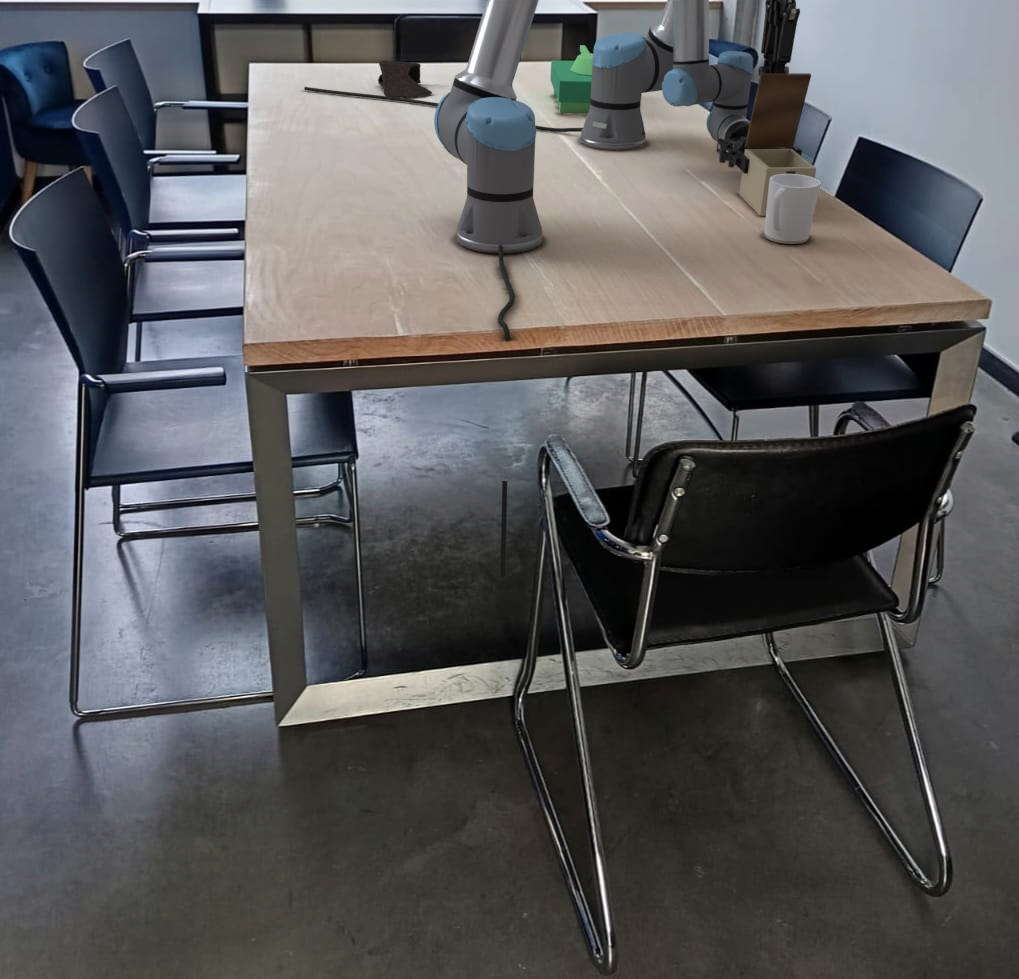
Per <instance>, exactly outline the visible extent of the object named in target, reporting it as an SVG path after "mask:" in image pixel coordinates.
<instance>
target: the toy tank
mask: <svg viewBox="0 0 1019 979" xmlns="http://www.w3.org/2000/svg"><path fill="white" fill-rule="evenodd" d="M579 52H580V54H578V55H577V56H576V59H575V60H555V59H554V60H551V61H550V83H551V86H552V88H553V96H554V97H556V100H557V102H558V113H559V114H575V115H576V114H577V115H578V114H579V115H580V114H581V115H583V114H585V115H586V114H587V115H588V112H589V109H590V100H591V83H592V57H593V53H591V52H590V51H589V50H588V47H587V46H586V45H583V44H582V45H581V44H580V45H579Z"/></svg>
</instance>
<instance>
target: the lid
mask: <svg viewBox="0 0 1019 979" xmlns="http://www.w3.org/2000/svg"><path fill="white" fill-rule="evenodd" d="M769 72H770V66H764V65H763V66H761V65H760V66H759V67H758V76H759V79H758V84H757V89H756V93H755V97H754V102H753V107H752V111H751V117H750V120H749V121H750V125H749V129H748V134H747V138H746V143H745V147H746V148H785V147H793V146H794V144H795V141H796V137H797V132H798V129H799V125H800V122H801V118H802V114H803V109H804V105H805V101H806V98H807V94H808V90H809V86H810V83H811V82H810V81H811V78H812V74H811V73H807V72H803V73H802V72H800V73H799V72H795V73H794V72H793V73H791V72H790V67H789V66H788V65H785V70H784V73H769Z"/></svg>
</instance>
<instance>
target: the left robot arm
mask: <svg viewBox="0 0 1019 979" xmlns="http://www.w3.org/2000/svg"><path fill="white" fill-rule="evenodd" d="M539 1H540V0H486V2H485V5H484V9H483V12H482V15H481V18H480V22H479V25H478V28H477V29H478V30H477V31H476V35H475V38H474V42H473V45H472V49H471V52H470V55H469V59H468V61H467V66H466V68H465V69H464V70H462V71H460V72H459V73H457V74H455V75H454V79H453V81H452V86H451V89H450V92H448V93H447V94H445V95H444V96H443V97H442V98H441V99H440V101H439V102H438V103H439V104H438V106H437V107H436V109H435V113H434V119H433V124H434V130H435V134H436V136H437V139H438V140H439V143H440V144H441V145H442V147H443V148H444V149H445V150H446V152H448V154H450V155H451V156H453V157H454V158H455V159H458V160H460V162H462V163H463V164H465V165H466V192H467V193H466V198H465V202H464V205H463V209H462V211H461V214H460V218H459V220H458V224H457V227H456V241H457V243H458V244H459V245H461V246H462V247H464V248H466V249H468V250H470V251H475V252H479V253H486V254H497V255H498V263H499V269H500V271H501V275H502V277H503V278H502V279H503V282H504V284H505V286H506V288H507V290H508V293H509V299H508V301H507V303H506V304H505V306H504V307H503V308H502V309H501V310H500V311H499V313H498V316H497V322H498V325H500V327H501V328H502V330H503V335H504V341H505V342H510V341H511V334H510V329H509V326H508V324H507V322H505V321H504V317H505V315H506V313H507V312H508V311H509V310H510V309H511V308H512V306H513V305H514V302H515V298H516V296H515V290H514V288H513V285H512V284H511V282H510V278H509V276H508V273H507V270H506V266H505V262H504V255H506V254H507V255H508V254H517V253H524V252H527V251H530V250H533V249H536V248H538V247H539V246H540V245H541V244H542V243H543V229H542V224H541V221H540V220H541V219H540V218H539V214H538V213H539V212H538V210H537V206H536V204H535V199H534V184H535V181H534V180H535V158H536V138H537V129H536V126H537V125H536V116H535V113H534V110H532V108H531V107H530V106H529V105H527V104H526V103H525V102H522V101H520V100H517V98H518V96H517V94H516V92H515V90H514V87H513V82H514V79H515V77H516V74H517V70H518V67H519V64H520V61H521V57H522V54H523V51H524V48H525V44H526V42H527V39H528V36H529V32H530V29H531V26H532V23H533V19H534V17H535V14H536V10H537V7H538V4H539ZM764 6H765V7H764V8H765V14H764V22H763V30H762V31H763V32H762V39H761V40H762V41H761V49H760V53H761V54H763V66H770V72H769V73H784V70H785V66H787V64H789V63H791V60H792V56H793V49H794V43H795V37H796V31H797V25H798V21H799V17H800V14H801V8H797V2H796V0H765V5H764ZM535 125H536V126H535ZM507 513H508V480H502V481H501V522H500V523H501V526H500V528H501V529H500V530H501V531H500V532H501V533H500V577H499V578H502V579H504V578H506V562H507V560H506V559H507V557H506V556H507V554H506V553H507V518H508V516H507Z"/></svg>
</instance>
